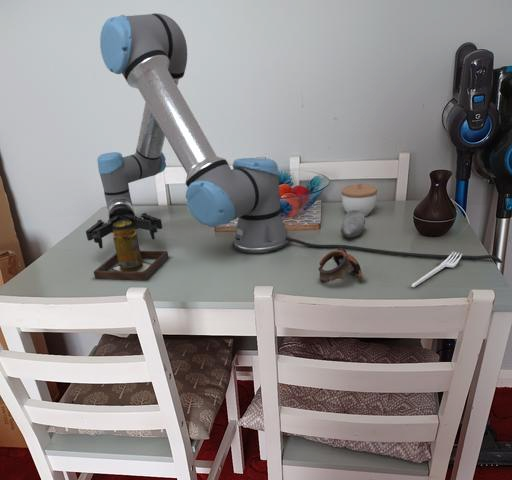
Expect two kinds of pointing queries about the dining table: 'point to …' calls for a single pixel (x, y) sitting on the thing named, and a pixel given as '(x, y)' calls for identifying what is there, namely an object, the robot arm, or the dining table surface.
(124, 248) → the condiment
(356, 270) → the brown curved ring piece
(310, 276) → the dining table surface
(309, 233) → the dining table surface
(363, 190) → the trinket box
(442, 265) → the fork
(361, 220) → the grey oval rock
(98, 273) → the caddy
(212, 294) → the dining table surface
